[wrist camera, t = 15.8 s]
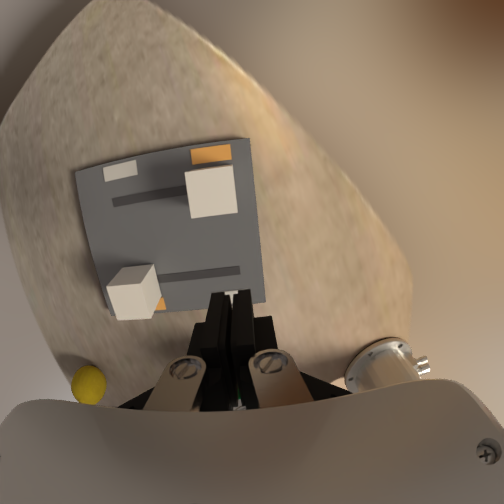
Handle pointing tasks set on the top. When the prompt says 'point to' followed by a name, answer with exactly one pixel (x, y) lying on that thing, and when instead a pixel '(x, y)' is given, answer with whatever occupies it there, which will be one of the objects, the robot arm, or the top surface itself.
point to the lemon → (88, 385)
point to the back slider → (134, 292)
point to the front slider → (211, 191)
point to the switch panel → (173, 225)
